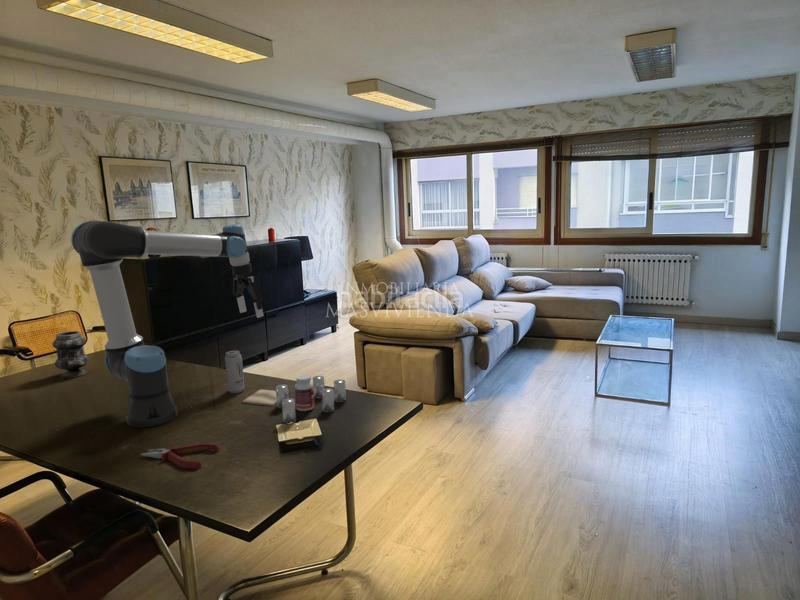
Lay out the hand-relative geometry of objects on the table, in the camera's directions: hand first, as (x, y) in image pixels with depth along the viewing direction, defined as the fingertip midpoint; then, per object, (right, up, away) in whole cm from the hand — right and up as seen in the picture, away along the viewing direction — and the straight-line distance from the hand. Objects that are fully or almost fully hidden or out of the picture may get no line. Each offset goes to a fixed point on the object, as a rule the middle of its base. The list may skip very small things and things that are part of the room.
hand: (251, 314), depth 210 cm
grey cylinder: (+39, -29, -29) cm, 57 cm away
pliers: (0, -38, -65) cm, 76 cm away
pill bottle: (+28, -31, -35) cm, 54 cm away
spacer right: (+36, -31, -37) cm, 61 cm away
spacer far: (+31, -29, -24) cm, 49 cm away
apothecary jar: (-77, -26, +8) cm, 82 cm away
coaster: (+12, -29, -25) cm, 40 cm away
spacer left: (+20, -31, -32) cm, 49 cm away
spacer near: (+25, -33, -45) cm, 61 cm away
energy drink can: (-1, -28, -17) cm, 33 cm away
